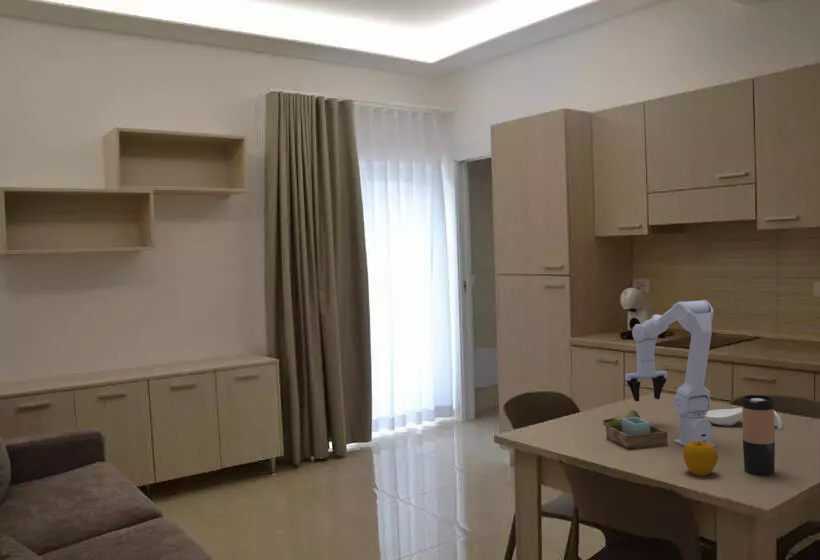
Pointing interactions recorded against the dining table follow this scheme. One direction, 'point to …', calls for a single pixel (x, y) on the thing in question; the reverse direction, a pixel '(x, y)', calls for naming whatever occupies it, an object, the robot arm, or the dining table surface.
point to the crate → (636, 438)
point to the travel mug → (758, 435)
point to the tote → (635, 426)
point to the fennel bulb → (619, 419)
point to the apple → (700, 457)
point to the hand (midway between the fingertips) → (646, 399)
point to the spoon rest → (732, 417)
